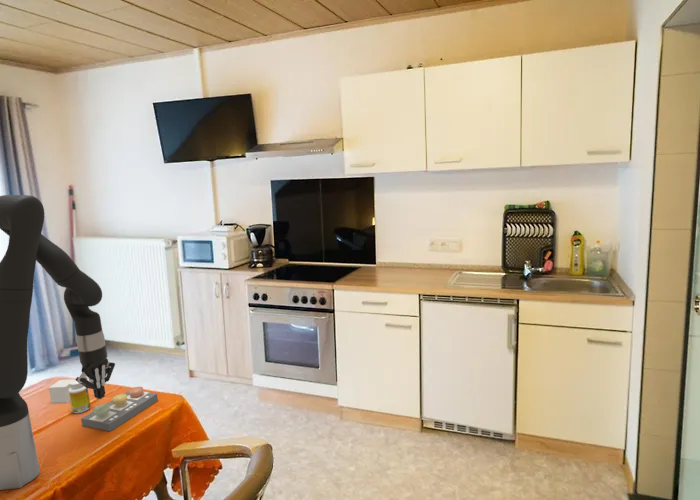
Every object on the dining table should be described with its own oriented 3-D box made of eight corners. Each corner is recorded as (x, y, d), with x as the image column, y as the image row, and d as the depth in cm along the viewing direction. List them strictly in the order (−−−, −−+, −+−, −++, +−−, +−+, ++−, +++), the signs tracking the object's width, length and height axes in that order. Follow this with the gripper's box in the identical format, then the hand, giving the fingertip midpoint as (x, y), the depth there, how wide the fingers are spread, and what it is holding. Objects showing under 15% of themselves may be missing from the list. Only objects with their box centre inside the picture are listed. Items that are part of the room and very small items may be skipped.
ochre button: (119, 405, 152) (119, 401, 152) (109, 403, 154) (108, 399, 154) (130, 399, 156) (129, 394, 156) (120, 397, 158) (119, 393, 158)
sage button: (101, 416, 146) (100, 411, 146) (91, 414, 147) (90, 409, 147) (113, 409, 150) (112, 404, 150) (103, 407, 152) (102, 403, 151)
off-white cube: (51, 403, 165) (48, 387, 164) (62, 395, 171) (59, 379, 170) (68, 402, 165) (65, 386, 164) (78, 394, 171) (75, 379, 170)
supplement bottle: (92, 409, 159) (87, 381, 157) (73, 415, 155) (68, 387, 154) (89, 404, 163) (84, 376, 161) (70, 409, 160) (65, 381, 158)
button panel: (110, 431, 144) (109, 423, 144) (82, 425, 149) (80, 417, 148) (157, 400, 163) (157, 393, 162) (131, 396, 167) (130, 389, 167)
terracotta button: (136, 397, 159) (136, 393, 159) (126, 396, 160) (126, 391, 160) (146, 391, 163) (145, 387, 163) (136, 390, 164) (136, 385, 164)
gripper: (81, 355, 137) (91, 409, 140) (118, 339, 149) (126, 389, 153) (63, 353, 140) (73, 406, 143) (100, 337, 152) (109, 386, 155)
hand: (100, 397), depth 148 cm, fingers closed
